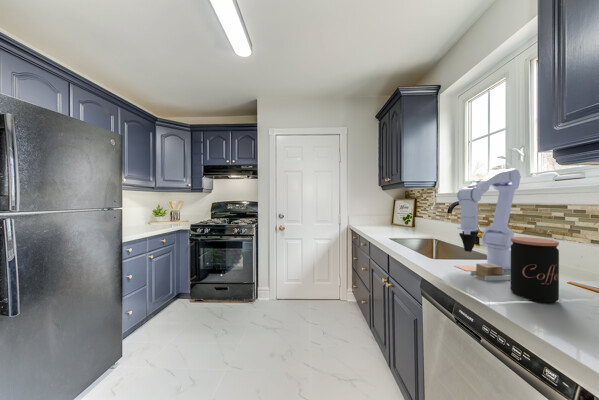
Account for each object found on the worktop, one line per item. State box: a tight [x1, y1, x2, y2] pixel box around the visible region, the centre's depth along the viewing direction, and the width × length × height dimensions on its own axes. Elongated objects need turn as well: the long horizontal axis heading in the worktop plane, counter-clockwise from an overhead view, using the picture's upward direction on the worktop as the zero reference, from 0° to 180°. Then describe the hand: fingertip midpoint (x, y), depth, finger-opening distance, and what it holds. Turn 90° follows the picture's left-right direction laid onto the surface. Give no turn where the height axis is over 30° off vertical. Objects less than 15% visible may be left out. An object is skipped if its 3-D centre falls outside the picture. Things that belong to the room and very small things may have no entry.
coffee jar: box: [510, 236, 560, 305], centre depth 73 cm, size 11×11×18 cm
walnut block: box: [475, 262, 503, 278], centre depth 90 cm, size 6×5×4 cm
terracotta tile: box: [454, 264, 476, 272], centre depth 101 cm, size 8×7×1 cm
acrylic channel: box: [470, 269, 511, 281], centre depth 90 cm, size 14×7×2 cm, turn 94°
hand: (469, 249), depth 97 cm, fingers open, 7 cm apart
